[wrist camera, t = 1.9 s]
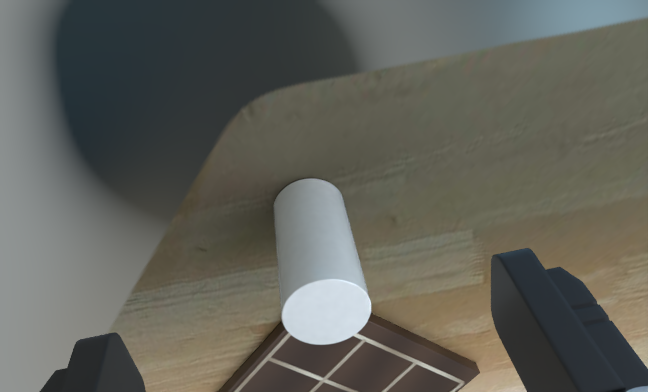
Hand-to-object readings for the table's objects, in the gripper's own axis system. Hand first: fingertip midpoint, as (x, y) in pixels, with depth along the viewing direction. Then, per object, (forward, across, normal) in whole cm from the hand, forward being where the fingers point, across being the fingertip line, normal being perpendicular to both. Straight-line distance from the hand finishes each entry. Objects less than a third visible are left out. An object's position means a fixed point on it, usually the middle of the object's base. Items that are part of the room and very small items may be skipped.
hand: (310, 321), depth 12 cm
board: (+20, +2, +29) cm, 36 cm away
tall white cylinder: (+20, 0, +11) cm, 23 cm away
